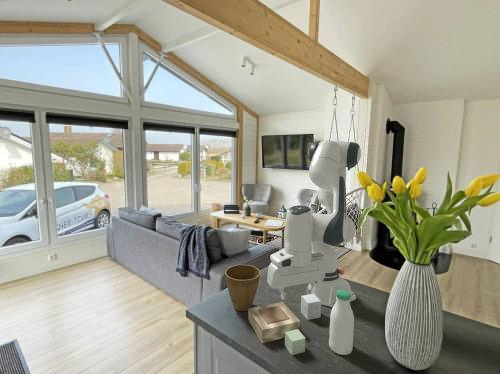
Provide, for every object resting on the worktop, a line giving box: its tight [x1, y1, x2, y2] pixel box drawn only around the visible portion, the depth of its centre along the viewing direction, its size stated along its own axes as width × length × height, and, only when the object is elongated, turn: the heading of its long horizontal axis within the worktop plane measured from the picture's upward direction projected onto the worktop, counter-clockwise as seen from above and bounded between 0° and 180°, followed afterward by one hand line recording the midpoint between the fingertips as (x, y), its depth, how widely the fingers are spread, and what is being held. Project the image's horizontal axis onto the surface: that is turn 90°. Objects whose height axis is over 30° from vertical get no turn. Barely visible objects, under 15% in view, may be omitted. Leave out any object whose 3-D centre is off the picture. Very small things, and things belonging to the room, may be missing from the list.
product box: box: [300, 294, 322, 321], centre depth 112 cm, size 6×6×7 cm
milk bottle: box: [328, 290, 355, 356], centre depth 92 cm, size 8×8×20 cm
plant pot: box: [224, 264, 261, 312], centre depth 116 cm, size 15×15×16 cm
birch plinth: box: [247, 301, 301, 344], centre depth 104 cm, size 15×14×5 cm
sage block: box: [284, 329, 306, 356], centre depth 92 cm, size 5×5×5 cm
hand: (296, 295), depth 90 cm, fingers open, 8 cm apart
